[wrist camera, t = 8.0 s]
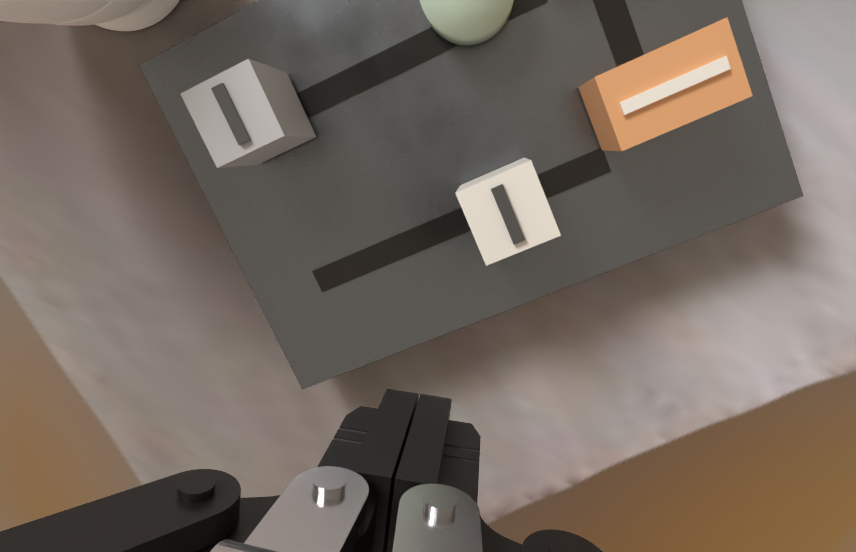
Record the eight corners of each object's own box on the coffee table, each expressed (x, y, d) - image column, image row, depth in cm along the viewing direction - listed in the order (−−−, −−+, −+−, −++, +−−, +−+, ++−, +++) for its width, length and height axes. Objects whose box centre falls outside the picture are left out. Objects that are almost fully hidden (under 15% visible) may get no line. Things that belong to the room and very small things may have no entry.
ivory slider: (460, 185, 27) (454, 193, 23) (524, 157, 26) (531, 160, 22) (486, 246, 28) (486, 266, 23) (549, 221, 27) (561, 236, 23)
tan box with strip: (578, 87, 26) (595, 76, 21) (689, 37, 25) (729, 15, 21) (601, 150, 26) (623, 151, 22) (711, 103, 25) (755, 95, 21)
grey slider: (228, 101, 27) (177, 93, 23) (286, 72, 27) (246, 57, 22) (258, 164, 28) (214, 168, 23) (316, 136, 27) (282, 135, 23)
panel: (181, 74, 31) (106, 57, 25) (645, -168, 27) (692, -262, 21) (323, 361, 34) (287, 409, 28) (762, 189, 30) (834, 200, 24)
